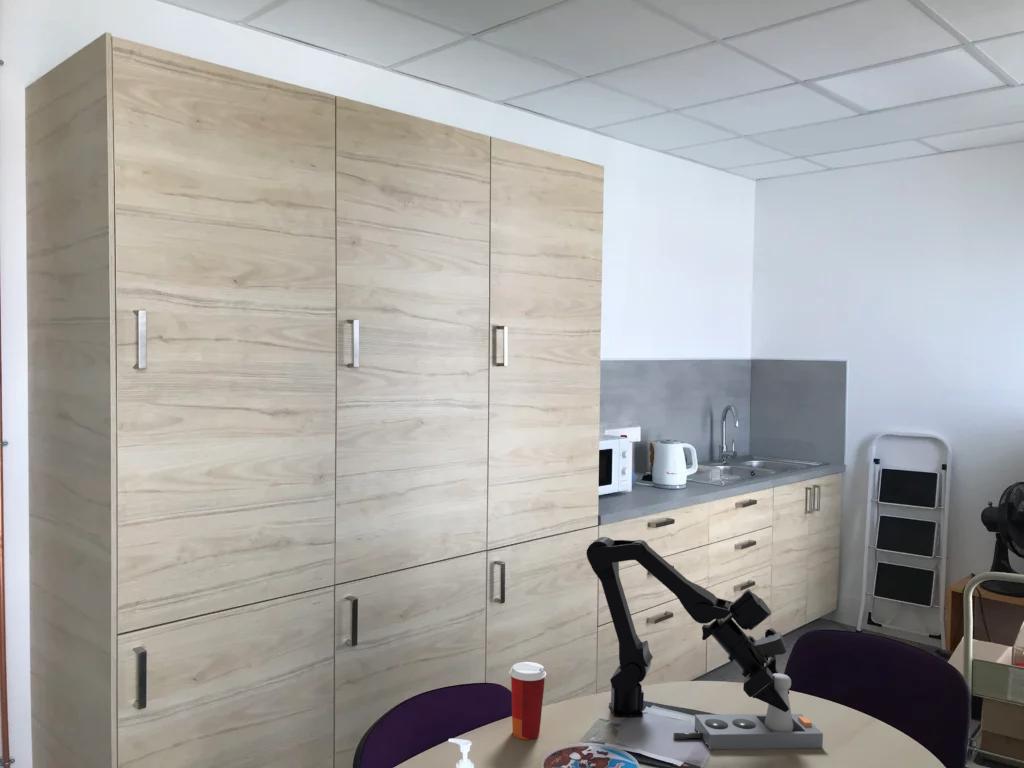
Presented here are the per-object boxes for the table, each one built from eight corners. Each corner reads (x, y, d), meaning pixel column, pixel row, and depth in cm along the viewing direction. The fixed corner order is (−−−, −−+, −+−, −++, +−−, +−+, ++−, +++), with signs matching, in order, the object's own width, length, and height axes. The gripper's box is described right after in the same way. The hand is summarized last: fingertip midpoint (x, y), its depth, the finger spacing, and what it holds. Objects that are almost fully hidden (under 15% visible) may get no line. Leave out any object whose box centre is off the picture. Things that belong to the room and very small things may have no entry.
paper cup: (548, 729, 169) (550, 664, 169) (538, 745, 162) (540, 676, 162) (513, 723, 172) (516, 658, 172) (501, 738, 165) (504, 670, 164)
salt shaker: (790, 744, 165) (793, 682, 165) (762, 738, 168) (764, 677, 168) (794, 734, 171) (796, 673, 171) (766, 728, 173) (768, 668, 173)
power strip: (681, 749, 162) (681, 730, 162) (667, 728, 172) (668, 711, 172) (822, 747, 165) (823, 729, 165) (801, 727, 174) (801, 710, 174)
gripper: (762, 632, 161) (818, 696, 158) (765, 608, 179) (816, 665, 175) (721, 665, 164) (775, 728, 161) (728, 638, 182) (777, 694, 178)
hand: (787, 702), depth 169 cm, fingers open, 9 cm apart
